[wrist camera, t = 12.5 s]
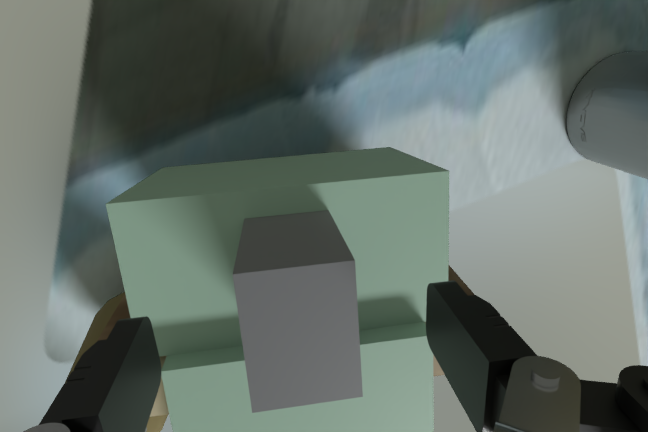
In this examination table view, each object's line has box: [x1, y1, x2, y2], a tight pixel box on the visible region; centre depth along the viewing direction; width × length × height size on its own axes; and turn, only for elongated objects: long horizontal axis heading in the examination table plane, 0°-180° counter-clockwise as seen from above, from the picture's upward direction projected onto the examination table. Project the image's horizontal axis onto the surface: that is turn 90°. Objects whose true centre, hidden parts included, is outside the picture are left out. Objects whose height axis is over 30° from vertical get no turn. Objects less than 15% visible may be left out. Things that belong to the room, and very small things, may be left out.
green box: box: [106, 147, 449, 432], centre depth 18 cm, size 12×11×13 cm
